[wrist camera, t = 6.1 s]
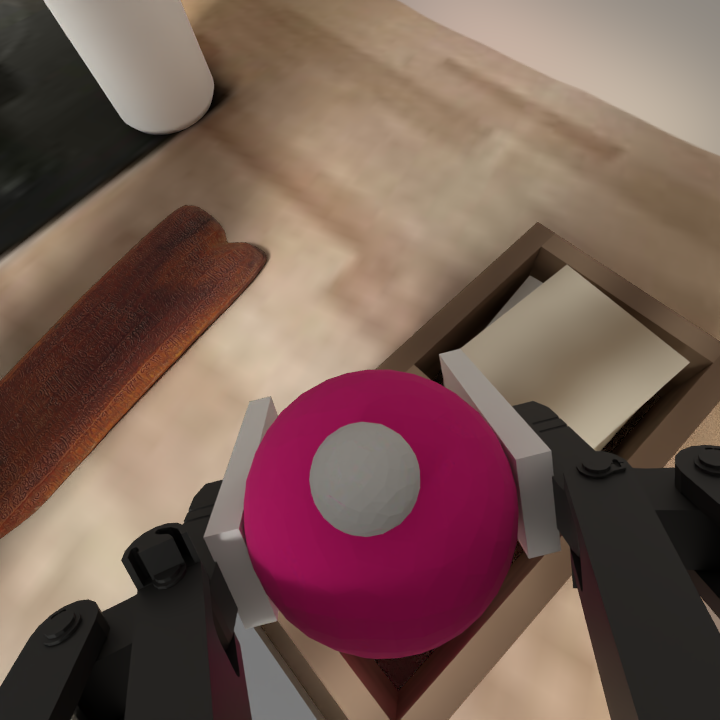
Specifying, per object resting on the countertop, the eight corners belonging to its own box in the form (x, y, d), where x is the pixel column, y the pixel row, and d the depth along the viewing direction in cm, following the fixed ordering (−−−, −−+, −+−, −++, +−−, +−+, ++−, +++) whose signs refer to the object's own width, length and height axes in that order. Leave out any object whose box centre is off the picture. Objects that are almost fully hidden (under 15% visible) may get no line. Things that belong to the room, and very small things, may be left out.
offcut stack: (428, 393, 28) (432, 352, 22) (523, 302, 30) (548, 244, 24) (547, 502, 25) (586, 486, 19) (645, 393, 26) (706, 350, 21)
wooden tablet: (189, 206, 37) (180, 191, 35) (279, 263, 34) (273, 249, 32) (-96, 474, 30) (-123, 469, 28) (-17, 577, 27) (-43, 578, 25)
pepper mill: (453, 460, 26) (549, 230, 8) (479, 602, 23) (730, 772, 5) (329, 475, 26) (141, 288, 8) (338, 616, 23) (77, 818, 5)
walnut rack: (243, 528, 26) (207, 522, 21) (519, 272, 30) (537, 221, 26) (398, 735, 21) (394, 783, 17) (692, 397, 26) (752, 362, 21)
